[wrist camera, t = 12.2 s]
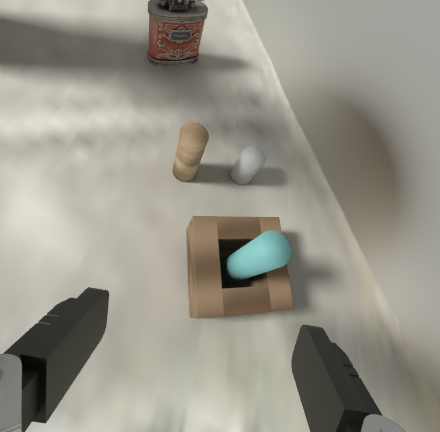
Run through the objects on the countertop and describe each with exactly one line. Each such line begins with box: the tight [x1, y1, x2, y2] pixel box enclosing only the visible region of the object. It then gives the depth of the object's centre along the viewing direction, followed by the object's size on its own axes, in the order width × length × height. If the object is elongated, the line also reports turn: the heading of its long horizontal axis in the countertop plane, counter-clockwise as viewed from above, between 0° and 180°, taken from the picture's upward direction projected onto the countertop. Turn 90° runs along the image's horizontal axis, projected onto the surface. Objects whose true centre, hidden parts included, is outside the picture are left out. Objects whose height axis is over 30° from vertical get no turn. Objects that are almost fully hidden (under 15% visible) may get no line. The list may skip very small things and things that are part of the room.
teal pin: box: [220, 230, 291, 283], centre depth 26 cm, size 3×3×12 cm
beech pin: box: [173, 122, 209, 182], centre depth 30 cm, size 3×3×8 cm
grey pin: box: [231, 146, 266, 185], centre depth 34 cm, size 3×3×5 cm
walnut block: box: [186, 216, 294, 319], centre depth 29 cm, size 10×10×5 cm
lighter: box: [148, 0, 208, 67], centre depth 36 cm, size 8×3×10 cm, turn 113°
